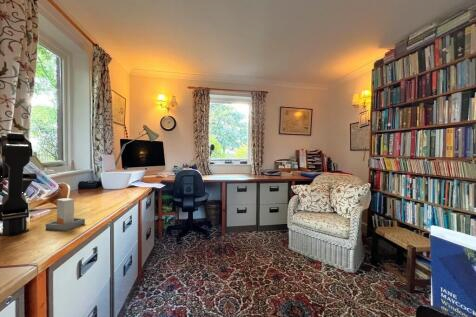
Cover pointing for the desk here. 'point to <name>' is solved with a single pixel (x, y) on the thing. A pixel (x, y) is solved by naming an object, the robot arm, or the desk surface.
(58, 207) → the skincare box
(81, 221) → the tray
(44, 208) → the desk surface
